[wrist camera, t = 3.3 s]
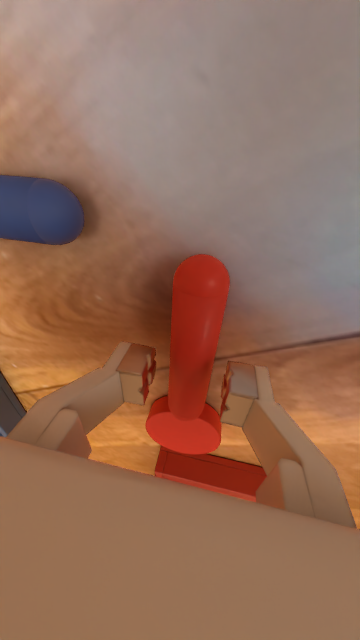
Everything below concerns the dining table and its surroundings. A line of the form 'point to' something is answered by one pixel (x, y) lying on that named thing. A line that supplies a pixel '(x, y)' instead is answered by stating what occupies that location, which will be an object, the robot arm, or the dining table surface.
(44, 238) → the blue spoon
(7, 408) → the blue tray
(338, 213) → the dining table surface
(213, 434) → the red spoon
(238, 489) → the red tray
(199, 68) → the dining table surface
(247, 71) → the dining table surface
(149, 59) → the dining table surface
